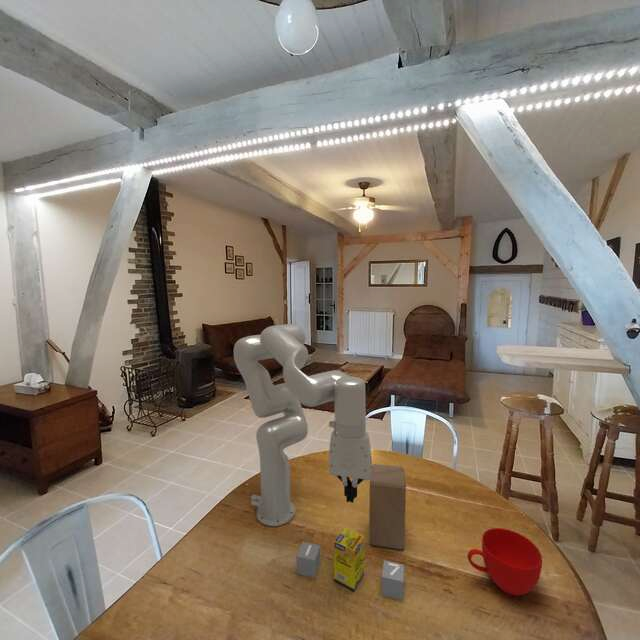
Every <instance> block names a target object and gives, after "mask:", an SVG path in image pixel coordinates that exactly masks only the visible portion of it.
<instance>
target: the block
mask: <svg viewBox="0 0 640 640" xmlns="http://www.w3.org/2000/svg"><path fill="white" fill-rule="evenodd" d="M371 471H372V475H373V477H372V480H369V505H368V507H369V511H368V512H369V513H368V514H369V515H368V516H369V517H368V519H369V520H368V525H369V526H368V528H369V529H368V530H369V531H368V536H369V538H368V541H369V543H370V545H371V546H375V547H382V548H387V549H395V550H404V548H405V542H406V538H405V537H406V505H407V503H406V502H407V501H406V500H407V499H406V496H407V495H406V494H407V485H406V484H407V483H406V473H405V472H406V471H405V468H404V467H403V466H395V465H389V464H388V465H387V464H377V463H372V466H371Z"/></svg>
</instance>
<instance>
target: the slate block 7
mask: <svg viewBox="0 0 640 640" xmlns="http://www.w3.org/2000/svg"><path fill="white" fill-rule="evenodd" d="M404 579H405V564H402V563H399V562H393V561H390V560H385V559H384V560H383V566H382V573H381V596H384V597H387V598H391V599H395V600H399V601H404V586H405V585H404V584H405V583H404V581H405V580H404Z"/></svg>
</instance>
